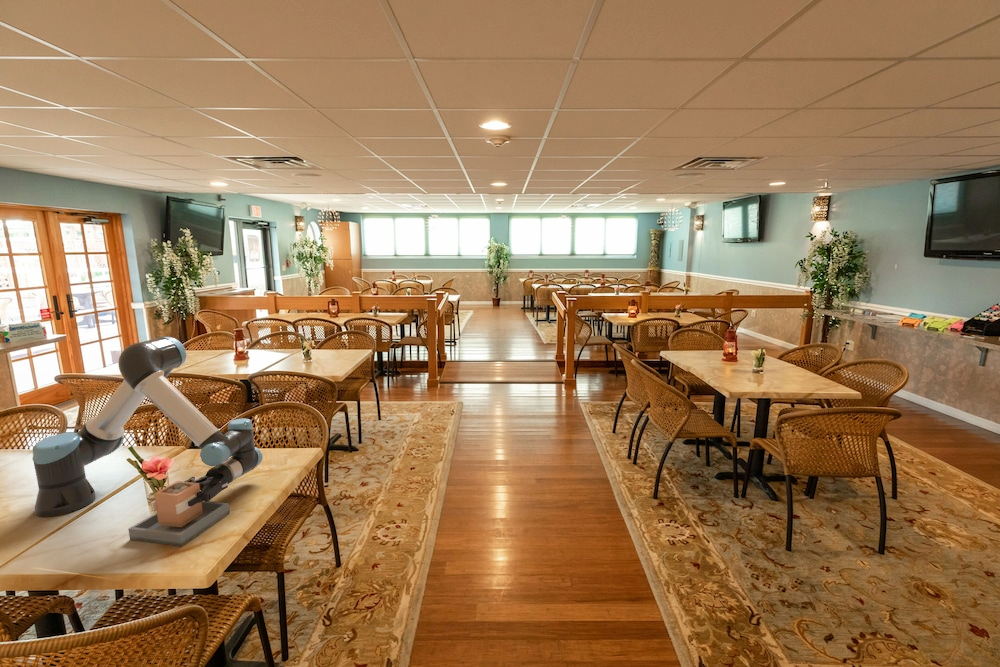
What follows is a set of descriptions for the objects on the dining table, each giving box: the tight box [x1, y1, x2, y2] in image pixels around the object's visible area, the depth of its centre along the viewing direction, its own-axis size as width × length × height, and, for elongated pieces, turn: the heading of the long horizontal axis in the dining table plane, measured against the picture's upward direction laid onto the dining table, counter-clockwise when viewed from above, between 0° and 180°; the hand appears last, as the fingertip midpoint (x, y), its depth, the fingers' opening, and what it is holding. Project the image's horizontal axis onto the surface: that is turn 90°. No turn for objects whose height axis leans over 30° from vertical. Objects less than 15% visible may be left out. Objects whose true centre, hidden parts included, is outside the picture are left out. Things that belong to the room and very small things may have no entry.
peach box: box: [153, 480, 203, 527], centre depth 145 cm, size 8×8×11 cm
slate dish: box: [128, 500, 230, 547], centre depth 145 cm, size 18×18×4 cm
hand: (164, 508), depth 140 cm, fingers closed on peach box, 8 cm apart
